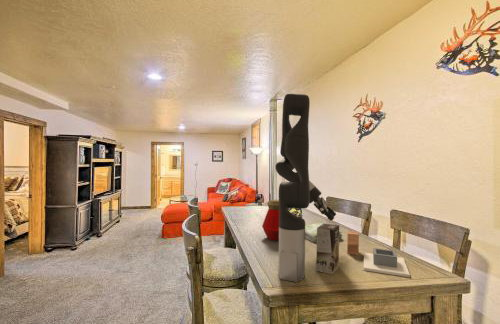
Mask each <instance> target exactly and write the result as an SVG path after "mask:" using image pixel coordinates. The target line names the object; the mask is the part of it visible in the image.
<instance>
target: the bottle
mask: <svg viewBox="0 0 500 324" xmlns="http://www.w3.org/2000/svg"><path fill="white" fill-rule="evenodd" d="M266 204H267V207H268V210H267V212H266V214H265V217H264V220H263V223H262V229H263V232H264V234H265V236H266V237H267V239H268V240H270V241H273V242H279V199H269V200H268V201H267V203H266Z"/></svg>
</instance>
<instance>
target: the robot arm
mask: <svg viewBox="0 0 500 324" xmlns="http://www.w3.org/2000/svg"><path fill="white" fill-rule="evenodd" d="M310 105H311V103H310V96H309V95H307V94H304V93H296V92H295V93H293V92H288V93H286V94H285V95H284V98H283V101H282V118H281V119H282V120H281V121H282V123H281V129H282V130H281V132H282V133H281V135H282V136H281V142H280V143H281V144H280V150H279V151H280V155H281V157H283V159H282V160H279V161H278V162H276V164H275V171H276V172H277V174H278V176H280V177H281V178H283V179H285V180H286V181H282V182H280V184H279V186H278V200H279V241H278V277H279V280H284V281H290V282H293V283H294V282H296V283H297V282H299V281H302V280H304V278H305V275H306V274H305V270H306V269H305V267H306V238H305V225H306V220H305V219H304V218H303V217H300V216H298V215H295V214H293V213H292V212H291V211H290V210H289V209H307V208H308V207H309V206H310V204H312V203H313V206H314V207H315V208H316V209H317V210H318V211H319V213H320V214H322V215H324V216H325V217H326V218H327V219H328V220H329V221H333V220H334V219H335V216H337V213H336V212H335V211H334V209H332V206H331V205H330V204H329V203H328V202H327V200H326V199H325V198H324V197H322V196H321V195H322V191H320V190H319V189H318V187H316V185H315V184H313V182H312V181H311V180H310V174H309V157H310V156H309V154H310V141H309V140H310V139H309V138H310V137H309V118H310ZM290 116H294V117H295V116H298V117H299V120H298V121H297V123H296V124H295V125H294V126H293V127H292V125H291V121H290ZM293 170H295V171H293ZM320 196H321V197H320Z"/></svg>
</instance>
